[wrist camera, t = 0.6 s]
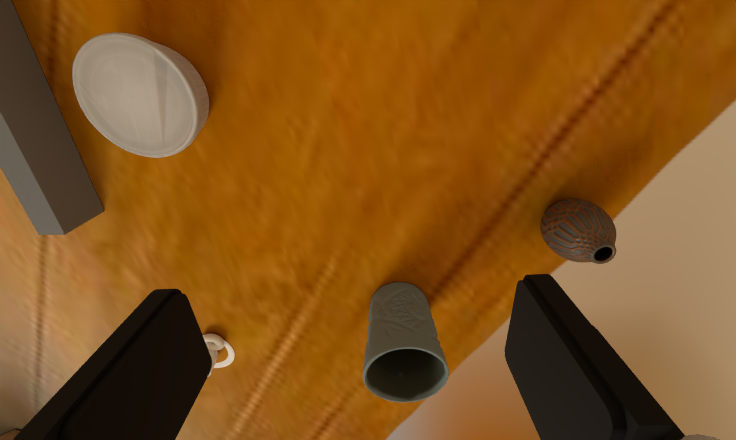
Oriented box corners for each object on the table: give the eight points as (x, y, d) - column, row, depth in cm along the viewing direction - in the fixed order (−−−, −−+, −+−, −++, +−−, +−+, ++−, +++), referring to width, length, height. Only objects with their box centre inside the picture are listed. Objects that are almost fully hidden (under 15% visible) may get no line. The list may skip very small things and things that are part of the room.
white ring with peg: (211, 322, 51) (199, 343, 47) (248, 350, 54) (239, 372, 50) (177, 345, 54) (163, 367, 50) (215, 371, 56) (204, 393, 53)
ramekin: (238, 126, 36) (218, 137, 32) (156, 158, 38) (126, 173, 33) (180, 16, 31) (146, 10, 27) (89, 58, 33) (43, 60, 29)
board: (-54, -73, 28) (-152, -101, 23) (-21, -73, 28) (-112, -102, 23) (81, 211, 42) (38, 234, 36) (104, 211, 41) (64, 234, 36)
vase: (556, 247, 43) (596, 291, 35) (520, 221, 41) (554, 261, 33) (600, 210, 40) (654, 248, 32) (564, 180, 38) (612, 212, 31)
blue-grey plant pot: (422, 270, 45) (437, 338, 34) (440, 321, 49) (457, 394, 39) (355, 289, 47) (349, 358, 36) (377, 336, 51) (378, 410, 41)
